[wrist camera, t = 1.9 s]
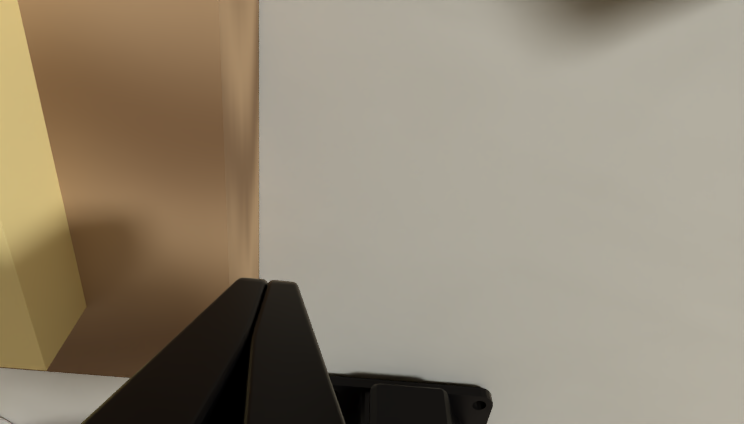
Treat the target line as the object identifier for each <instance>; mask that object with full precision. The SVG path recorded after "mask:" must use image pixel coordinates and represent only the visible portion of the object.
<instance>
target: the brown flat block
mask: <svg viewBox="0 0 744 424" xmlns="http://www.w3.org/2000/svg"><path fill="white" fill-rule="evenodd" d="M17 1H18V5H19V9H20V14H21V18H22V23H23V27H24V32H25V36H26V40H27V45H28V49H29V54H30V58H31V63H32V67H33V72H34V76H35V80H36V85H37V89H38V94H39V98H40V103H41V107H42V111H43V116H44V120H45V125H46V129H47V134H48V138H49V142H50V147H51V151H52V156H53V160H54V165H55V169H56V173H57V178H58V182H59V187H60V191H61V196H62V200H63V204H64V209H65V213H66V218H67V222H68V227H69V231H70V235H71V240H72V244H73V249H74V253H75V258H76V262H77V266H78V271H79V275H80V280H81V284H82V289H83V293H84V297H85V302H86V306H87V307H86V308H85V310H84V312H83V313H82V315H81V316H80V318H79V320H78V321H77V323H76V324H75V326H74V328H73V329H72V331H71V332H70V334H69V336H68V337H67V339H66V340H65V342H64V344H63V345H62V347H61V348H60V350H59V351H58V353H57V355H56V356H55V358H54V359H53V361H52V363H51V364H50V366H49V367H48V369H47V371H50V372H63V373H75V374H88V375H101V376H114V377H127V378H131V377H132V376H133V375H134V374H135V373H137V372H138V371H139V370H140V369H141V368H142V367H143V366H144V365H145V364H146V363H147V362H148V361H149V360H151V359H152V358H153V357H154V356H155V355H156V354H157V353H158V352H159V351H160V350H161V349H162V348H164V347H165V346H166V345H167V344H168V343H169V342H170V341H171V340H172V339H173V338H174V337H175V336H177V335H178V334H179V333H180V332H181V331H182V330H183V329H184V328H185V327H186V326H187V325H188V324H190V323H191V322H192V321H193V320H194V319H195V318H196V317H197V316H198V315H199V314H200V313H201V312H203V311H204V310H205V309H206V308H207V307H208V306H209V305H210V304H211V303H212V302H213V301H214V300H215V299H217V298H218V297H219V296H220V295H221V294H222V293H223V292H224V291H225V290H226V289H227V288H228V287H230V286H231V285H232V284H233V283H234V282H235V281H236V280H237V279H239V278H255V279H259V0H17ZM0 368H6V367H0ZM11 369H19V368H11ZM24 370H32V369H24ZM37 371H45V370H37Z"/></svg>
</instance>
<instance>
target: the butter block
mask: <svg viewBox="0 0 744 424" xmlns="http://www.w3.org/2000/svg"><path fill="white" fill-rule="evenodd" d="M86 307H87V306H86V302H85V297H84V293H83V289H82V284H81V280H80V275H79V271H78V266H77V262H76V258H75V253H74V249H73V244H72V240H71V235H70V231H69V227H68V222H67V218H66V213H65V209H64V204H63V200H62V196H61V191H60V187H59V182H58V178H57V173H56V169H55V165H54V160H53V156H52V151H51V147H50V142H49V138H48V134H47V129H46V125H45V120H44V116H43V111H42V107H41V103H40V98H39V94H38V89H37V85H36V80H35V76H34V72H33V67H32V63H31V58H30V54H29V49H28V45H27V40H26V36H25V32H24V27H23V23H22V18H21V14H20V9H19V5H18V1H17V0H0V367H6V368H19V369H32V370H45V371H47V369H48V367H49V366H50V364H51V363H52V361H53V359H54V358H55V356H56V355H57V353H58V351H59V350H60V348H61V347H62V345H63V344H64V342H65V340H66V339H67V337H68V336H69V334H70V332H71V331H72V329H73V328H74V326H75V324H76V323H77V321H78V320H79V318H80V316H81V315H82V313H83V312H84V310H85V308H86Z"/></svg>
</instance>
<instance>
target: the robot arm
mask: <svg viewBox="0 0 744 424" xmlns="http://www.w3.org/2000/svg"><path fill="white" fill-rule="evenodd" d="M492 407H493V402H492V397H491V394H490V392H489V391H488V390H486V389H484V388H476V387H464V386H451V385H439V384H426V383H413V382H401V381H388V380H375V379H363V378H350V377H338V376H329V375H328V372H327V369H326V366H325V363H324V360H323V357H322V354H321V351H320V348H319V345H318V343H317V340H316V337H315V334H314V331H313V328H312V325H311V322H310V319H309V316H308V314H307V311H306V308H305V305H304V302H303V299H302V296H301V293H300V290H299V287H298V285H297V284H296V283H295V282H289V281H278V280H272V281H270V282H269V283H267V281H266V280H264V279H255V278H239V279H237V280H236V281H235V282H234V283H233V284H232V285H231V286H230V287H228V288H227V289H226V290H225V291H224V292H223V293H222V294H221V295H220V296H219V297H218V298H217V299H215V300H214V301H213V302H212V303H211V304H210V305H209V306H208V307H207V308H206V309H205V310H204V311H203V312H201V313H200V314H199V315H198V316H197V317H196V318H195V319H194V320H193V321H192V322H191V323H190V324H188V325H187V326H186V327H185V328H184V329H183V330H182V331H181V332H180V333H179V334H178V335H177V336H175V337H174V338H173V339H172V340H171V341H170V342H169V343H168V344H167V345H166V346H165V347H164V348H162V349H161V350H160V351H159V352H158V353H157V354H156V355H155V356H154V357H153V358H152V359H151V360H149V361H148V362H147V363H146V364H145V365H144V366H143V367H142V368H141V369H140V370H139V371H138V372H137V373H135V374H134V375H133V376H132V377H131V378H130V379H129V380H128V381H127V382H126V383H125V384H124V385H122V386H121V387H120V388H119V389H118V390H117V391H116V392H115V393H114V394H113V395H112V396H111V397H109V398H108V399H107V400H106V401H105V402H104V403H103V404H102V405H101V406H100V407H99V408H98V409H96V410H95V411H94V412H93V413H92V414H91V415H90V416H89V417H88V418H87V419H86V420H85V421H83V422H82V423H81V424H487V421H488V418H489V415H490V412H491V410H492Z"/></svg>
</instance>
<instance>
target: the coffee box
mask: <svg viewBox="0 0 744 424" xmlns="http://www.w3.org/2000/svg"><path fill="white" fill-rule="evenodd" d="M0 424H12V423H11V422H9V421H7V420H5V419H4V418H0Z"/></svg>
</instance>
